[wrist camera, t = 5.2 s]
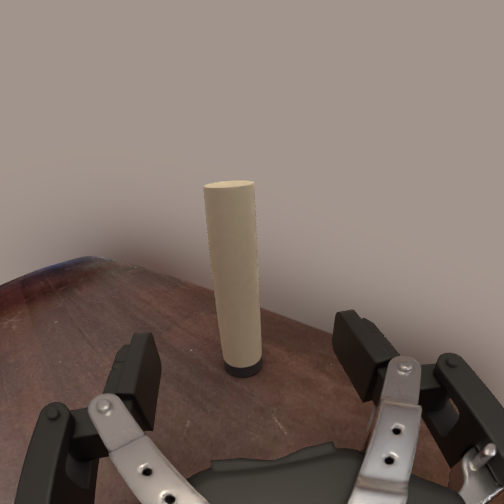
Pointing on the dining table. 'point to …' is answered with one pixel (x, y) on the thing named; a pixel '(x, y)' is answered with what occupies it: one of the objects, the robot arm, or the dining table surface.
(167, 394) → the dining table surface
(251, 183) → the beige cylinder
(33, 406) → the dining table surface
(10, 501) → the dining table surface
